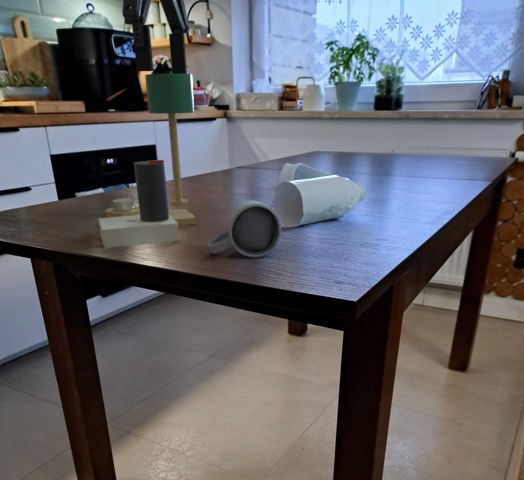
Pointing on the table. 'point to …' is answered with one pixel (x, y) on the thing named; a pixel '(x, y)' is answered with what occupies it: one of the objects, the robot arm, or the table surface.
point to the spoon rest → (298, 173)
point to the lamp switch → (123, 205)
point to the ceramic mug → (249, 230)
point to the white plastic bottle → (316, 199)
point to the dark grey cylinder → (151, 190)
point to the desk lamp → (171, 113)
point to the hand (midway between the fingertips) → (163, 72)
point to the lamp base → (183, 220)
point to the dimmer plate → (136, 231)
